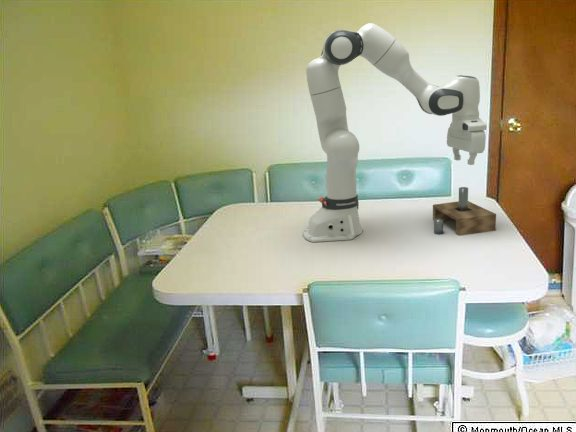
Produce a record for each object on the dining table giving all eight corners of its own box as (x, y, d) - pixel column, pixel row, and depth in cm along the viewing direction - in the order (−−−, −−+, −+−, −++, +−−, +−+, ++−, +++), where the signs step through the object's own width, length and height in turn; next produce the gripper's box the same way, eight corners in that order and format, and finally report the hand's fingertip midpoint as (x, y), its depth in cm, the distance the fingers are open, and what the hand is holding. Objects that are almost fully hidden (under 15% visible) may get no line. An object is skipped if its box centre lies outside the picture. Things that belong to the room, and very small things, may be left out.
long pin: (460, 226, 179) (461, 189, 175) (456, 223, 182) (457, 187, 178) (468, 225, 179) (469, 188, 175) (464, 222, 182) (465, 186, 178)
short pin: (436, 235, 172) (436, 221, 171) (432, 232, 175) (432, 219, 174) (444, 233, 173) (445, 220, 171) (440, 231, 176) (440, 217, 174)
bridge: (458, 235, 170) (458, 219, 168) (432, 219, 189) (432, 204, 187) (495, 230, 172) (496, 214, 170) (466, 214, 191) (466, 200, 189)
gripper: (442, 121, 179) (442, 158, 183) (472, 126, 160) (470, 168, 164) (458, 119, 180) (457, 156, 184) (489, 125, 161) (487, 166, 165)
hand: (463, 162), depth 174 cm, fingers open, 8 cm apart
